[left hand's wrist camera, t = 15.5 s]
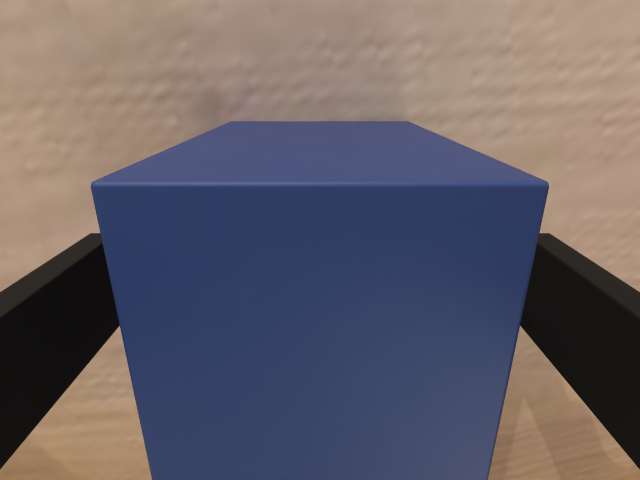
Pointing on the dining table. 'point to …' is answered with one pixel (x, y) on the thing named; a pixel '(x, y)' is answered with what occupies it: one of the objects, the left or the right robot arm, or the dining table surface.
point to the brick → (319, 300)
